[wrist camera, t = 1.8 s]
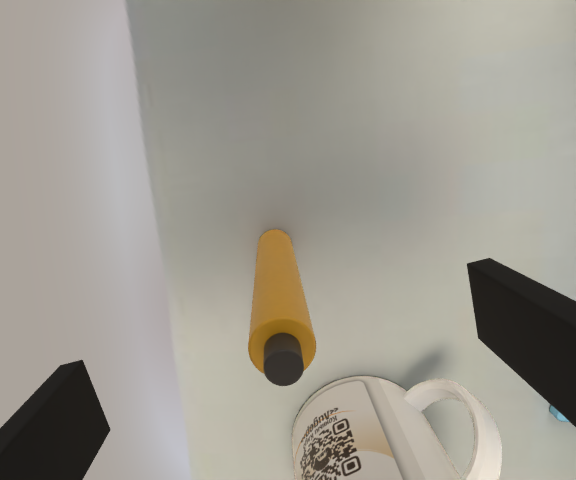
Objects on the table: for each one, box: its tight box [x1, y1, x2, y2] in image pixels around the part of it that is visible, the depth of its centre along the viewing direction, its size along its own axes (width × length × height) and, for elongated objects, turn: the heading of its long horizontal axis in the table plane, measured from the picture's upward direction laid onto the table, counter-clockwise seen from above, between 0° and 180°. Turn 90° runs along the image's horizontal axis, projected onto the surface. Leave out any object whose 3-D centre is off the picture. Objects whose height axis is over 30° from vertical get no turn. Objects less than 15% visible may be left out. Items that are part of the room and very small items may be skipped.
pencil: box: [248, 229, 316, 386], centre depth 19 cm, size 2×2×15 cm
